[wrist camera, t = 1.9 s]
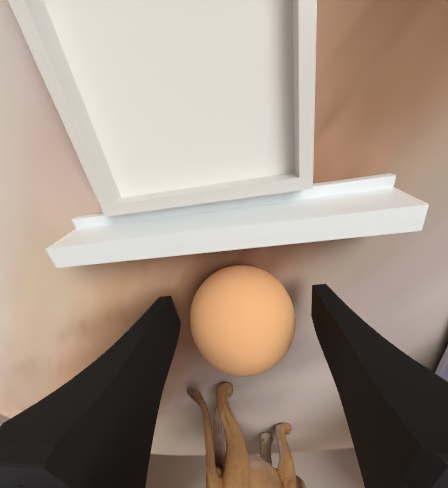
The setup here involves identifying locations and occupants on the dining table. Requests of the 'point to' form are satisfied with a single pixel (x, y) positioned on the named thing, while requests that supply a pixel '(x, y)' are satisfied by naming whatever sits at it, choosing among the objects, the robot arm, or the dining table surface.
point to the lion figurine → (242, 450)
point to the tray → (180, 95)
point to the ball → (242, 320)
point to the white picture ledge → (245, 223)
